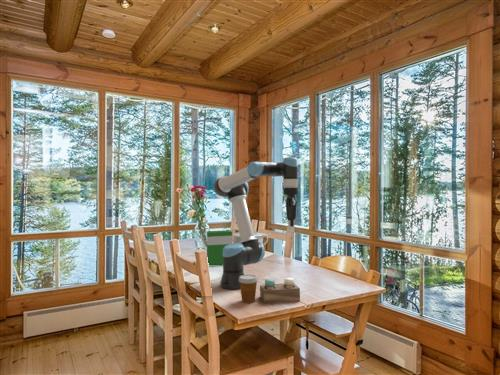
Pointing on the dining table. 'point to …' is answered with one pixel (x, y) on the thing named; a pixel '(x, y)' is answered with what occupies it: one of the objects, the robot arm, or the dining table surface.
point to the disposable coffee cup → (248, 287)
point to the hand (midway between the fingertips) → (291, 232)
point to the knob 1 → (269, 283)
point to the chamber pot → (256, 234)
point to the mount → (279, 293)
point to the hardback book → (217, 245)
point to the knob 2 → (289, 282)
